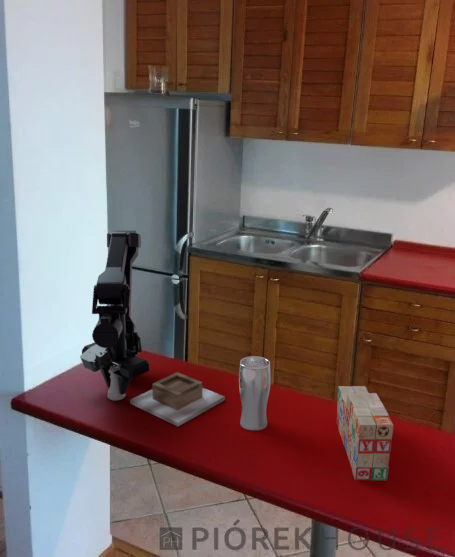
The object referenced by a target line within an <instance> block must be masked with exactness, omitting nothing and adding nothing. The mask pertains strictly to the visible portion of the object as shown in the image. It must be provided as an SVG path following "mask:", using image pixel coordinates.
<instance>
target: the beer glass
mask: <svg viewBox="0 0 455 557" xmlns="http://www.w3.org/2000/svg"><path fill="white" fill-rule="evenodd" d="M270 361H271V360H269V359H267V358H266V357H262V356H257V355H256V356H255V355H253V356H252V355H251V356H245V357H244V358H241V359H240V361H239V371H238V389H239V395H240V401H241V416H240V419H239V420H240V422H239V424H240V426H241V427H242V428H243V429H244V430H248V431H256V432H257V431H261V430H264V429H265V428H266V427H267V426H268V419H267V405H268V399H269V395H270V391H271V383H272V382H271V381H272V380H271V374H272V373H271V372H272V371H271V362H270Z"/></svg>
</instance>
